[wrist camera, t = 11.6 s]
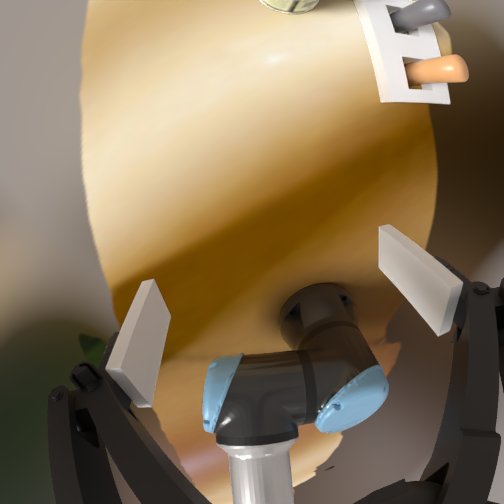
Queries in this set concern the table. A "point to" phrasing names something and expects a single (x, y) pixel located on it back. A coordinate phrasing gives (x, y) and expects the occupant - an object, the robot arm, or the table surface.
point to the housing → (398, 53)
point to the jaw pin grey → (419, 15)
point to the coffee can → (290, 5)
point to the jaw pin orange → (437, 70)
